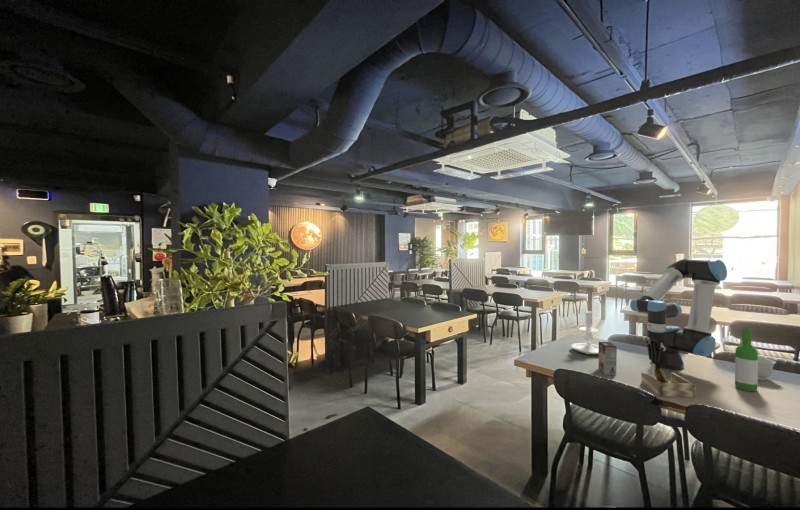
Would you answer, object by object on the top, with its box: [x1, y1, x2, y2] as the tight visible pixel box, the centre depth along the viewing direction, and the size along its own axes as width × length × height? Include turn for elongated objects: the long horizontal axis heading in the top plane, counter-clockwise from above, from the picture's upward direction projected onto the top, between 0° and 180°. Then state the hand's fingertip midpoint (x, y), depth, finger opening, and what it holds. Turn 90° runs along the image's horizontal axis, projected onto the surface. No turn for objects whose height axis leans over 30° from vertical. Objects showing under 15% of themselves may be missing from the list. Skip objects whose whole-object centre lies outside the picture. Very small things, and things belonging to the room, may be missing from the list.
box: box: [640, 371, 696, 398], centre depth 162 cm, size 15×14×6 cm
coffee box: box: [598, 341, 618, 376], centre depth 186 cm, size 9×6×16 cm
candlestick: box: [570, 310, 599, 355], centre depth 217 cm, size 21×25×28 cm
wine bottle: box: [734, 327, 759, 392], centre depth 162 cm, size 8×8×30 cm
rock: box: [655, 368, 670, 383], centre depth 165 cm, size 11×9×10 cm
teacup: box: [758, 355, 777, 381], centre depth 175 cm, size 12×15×10 cm
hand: (656, 375), depth 171 cm, fingers closed
